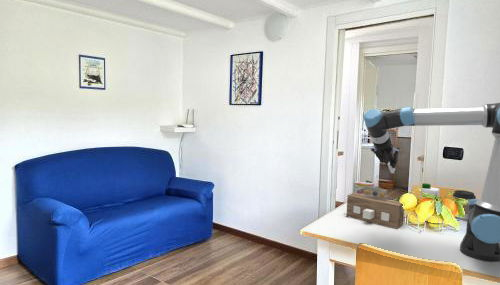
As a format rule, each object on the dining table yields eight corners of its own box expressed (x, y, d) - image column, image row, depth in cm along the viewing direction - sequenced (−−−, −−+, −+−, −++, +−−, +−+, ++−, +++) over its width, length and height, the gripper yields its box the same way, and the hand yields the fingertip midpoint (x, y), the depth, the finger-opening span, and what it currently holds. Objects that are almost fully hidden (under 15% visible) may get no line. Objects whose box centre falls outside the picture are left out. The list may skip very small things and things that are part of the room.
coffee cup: (449, 214, 206) (451, 189, 204) (471, 216, 202) (473, 191, 200) (452, 219, 195) (454, 193, 194) (476, 222, 191) (478, 195, 190)
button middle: (369, 219, 181) (370, 212, 181) (362, 217, 184) (363, 210, 184) (375, 217, 185) (375, 209, 185) (367, 215, 188) (368, 208, 188)
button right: (388, 221, 179) (389, 213, 178) (380, 219, 181) (381, 212, 181) (393, 219, 183) (393, 211, 183) (385, 217, 186) (386, 210, 185)
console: (396, 229, 177) (399, 194, 175) (346, 216, 196) (348, 184, 194) (402, 225, 182) (405, 191, 181) (353, 213, 202) (355, 182, 200)
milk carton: (420, 217, 198) (423, 182, 196) (438, 220, 193) (441, 184, 191) (417, 220, 191) (420, 184, 189) (435, 224, 186) (438, 187, 184)
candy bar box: (352, 209, 210) (353, 182, 208) (353, 207, 214) (354, 180, 213) (371, 212, 205) (373, 184, 204) (372, 210, 210) (374, 183, 208)
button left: (359, 214, 190) (360, 206, 190) (353, 212, 193) (353, 205, 193) (365, 212, 195) (365, 204, 194) (358, 210, 197) (358, 203, 197)
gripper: (363, 143, 160) (377, 175, 174) (392, 146, 151) (404, 179, 165) (369, 131, 164) (382, 163, 177) (398, 133, 154) (409, 166, 168)
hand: (393, 171), depth 171 cm, fingers closed
